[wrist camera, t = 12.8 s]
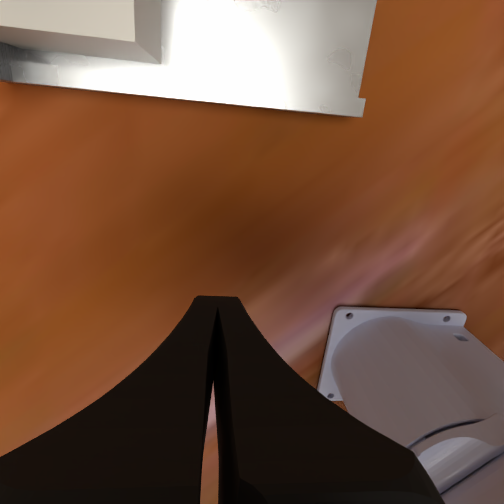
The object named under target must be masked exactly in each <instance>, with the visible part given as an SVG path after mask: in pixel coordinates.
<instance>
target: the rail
mask: <svg viewBox="0 0 504 504" xmlns="http://www.w3.org/2000/svg"><path fill="white" fill-rule="evenodd" d="M376 2H377V0H161V64H153V63H145V62H136V61H127V60H118V59H109V58H101V57H92V56H83V55H74V54H66V53H57V52H48V51H39V50H31V49H22V48H18V47H15V46H12V45H9V44H6V43H3V42H0V82H6V83H16V84H26V85H36V86H46V87H56V88H65V89H75V90H85V91H95V92H105V93H114V94H124V95H134V96H144V97H154V98H164V99H173V100H183V101H193V102H203V103H213V104H223V105H232V106H242V107H252V108H262V109H272V110H282V111H291V112H301V113H311V114H321V115H331V116H340V117H362V116H363V111H364V106H365V100H366V99H363V98H358V96H359V90H360V85H361V80H362V75H363V70H364V64H365V59H366V54H367V49H368V43H369V38H370V33H371V28H372V22H373V17H374V12H375V7H376Z"/></svg>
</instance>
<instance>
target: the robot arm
mask: <svg viewBox="0 0 504 504" xmlns="http://www.w3.org/2000/svg"><path fill="white" fill-rule="evenodd" d="M348 313H351V314H350V315H349V316H346V314H348ZM445 316H446V318H444V317H445ZM443 318H444V319H443ZM466 318H467V316H466V314H464V313H463V312H462V311H457V310H428V309H399V308H369V307H338V308H336V309H335V310H334V313H333V317H332V322H331V327H330V331H329V336H328V341H327V345H326V350H325V355H324V359H323V364H322V369H321V374H320V378H319V383H318V388H317V390H316V389H315V388H314V387H312V386H311V385H310V384H309V383H307V382H306V381H305V380H304V379H303V378H302V377H300V376H299V375H298V374H297V373H296V372H295V371H294V370H293V369H292V368H291V367H290V366H289V365H288V364H287V363H286V362H285V361H284V360H283V359H282V358H281V357H280V356H279V355H278V353H277V352H276V351H275V350H274V349H273V348H272V346H271V345H270V344H269V343H268V342H267V340H266V339H265V338H264V336H263V335H262V334H261V332H260V331H259V330H258V328H257V327H256V325H255V324H254V323H253V321H252V320H251V318H250V316H249V315H248V313H247V312H246V310H245V308H244V306H243V305H242V303H241V301H240V299H239V298H238V297H225V296H197V297H196V298H194V300H193V302H192V304H191V306H190V307H189V309H188V311H187V312H186V314H185V315H184V316H183V318H182V319H181V321H180V322H179V323H178V324H177V326H176V327H175V328H174V330H173V331H172V332H171V333H170V335H169V336H168V337H167V338H166V339H165V340H164V341H163V342H162V344H161V345H160V346H159V347H158V348H157V349H156V350H155V351H154V352H153V353H152V354H151V355H150V356H149V357H148V358H147V359H146V360H145V361H144V362H143V363H142V364H141V365H140V366H139V367H138V368H137V369H135V370H134V371H133V372H132V373H131V374H130V375H128V376H127V377H126V378H125V379H124V380H122V381H121V382H120V383H119V384H117V385H116V386H115V387H114V388H113V389H111V390H110V391H109V392H107V393H106V394H105V395H103V396H102V397H101V398H99V399H98V400H96V401H95V402H93V403H92V404H90V405H89V406H87V407H86V408H84V409H83V410H81V411H80V412H78V413H77V414H75V415H73V416H72V417H70V418H69V419H67V420H66V421H64V422H62V423H61V424H59V425H57V426H56V427H54V428H52V429H51V430H49V431H47V432H45V433H43V434H42V435H40V436H38V437H36V438H34V439H33V440H31V441H29V442H27V443H25V444H23V445H22V446H20V447H18V448H16V449H14V450H13V451H11V452H9V453H7V454H5V455H3V456H1V457H0V504H200V492H201V474H202V461H203V451H204V443H205V436H206V429H207V422H208V415H209V407H210V400H211V393H212V386H213V381H214V395H215V410H216V424H217V438H218V455H219V490H218V504H504V362H503V361H502V360H501V359H500V358H499V357H498V356H496V355H495V354H494V353H493V352H492V351H491V350H490V349H488V348H487V347H486V346H485V345H484V344H483V343H482V342H480V341H479V340H478V339H477V338H476V337H475V336H473V335H472V334H471V333H470V332H469V331H468V330H467V329H465V328H464V327H463V326H464V324H465V321H466ZM330 393H331V394H330ZM328 394H329V395H328ZM332 401H344V404H345V406H346V408H347V411H348V413H347V412H346V411H344V410H343V409H341V408H340V407H339V406H337V405H336V404H334V403H333V402H332Z"/></svg>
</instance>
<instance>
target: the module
mask: <svg viewBox="0 0 504 504" xmlns="http://www.w3.org/2000/svg"><path fill="white" fill-rule="evenodd" d="M0 42H3V43H6V44H9V45H12V46H15V47H18V48H22V49H31V50H39V51H48V52H57V53H66V54H74V55H83V56H92V57H101V58H109V59H118V60H127V61H136V62H145V63H153V64H161V0H0Z"/></svg>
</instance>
